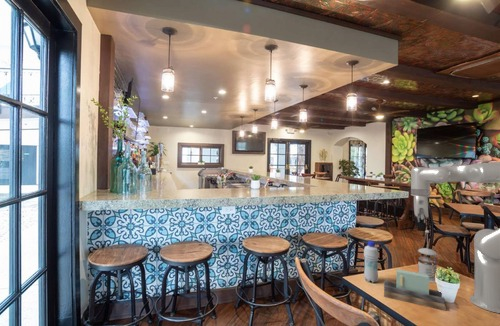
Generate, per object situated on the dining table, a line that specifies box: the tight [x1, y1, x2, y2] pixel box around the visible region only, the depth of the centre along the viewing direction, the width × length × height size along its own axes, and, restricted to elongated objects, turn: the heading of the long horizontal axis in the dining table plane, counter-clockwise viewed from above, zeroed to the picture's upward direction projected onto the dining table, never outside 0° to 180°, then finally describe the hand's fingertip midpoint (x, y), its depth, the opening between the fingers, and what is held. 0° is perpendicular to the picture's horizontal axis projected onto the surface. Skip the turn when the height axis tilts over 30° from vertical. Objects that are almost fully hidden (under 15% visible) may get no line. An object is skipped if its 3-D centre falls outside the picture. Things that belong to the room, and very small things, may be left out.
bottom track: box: [383, 279, 447, 311], centre depth 112 cm, size 22×12×4 cm, turn 61°
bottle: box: [363, 240, 379, 284], centre depth 127 cm, size 7×7×20 cm
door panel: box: [395, 268, 430, 295], centre depth 112 cm, size 12×4×9 cm, turn 62°
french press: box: [417, 229, 439, 284], centre depth 131 cm, size 10×12×25 cm
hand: (420, 228), depth 121 cm, fingers open, 9 cm apart
